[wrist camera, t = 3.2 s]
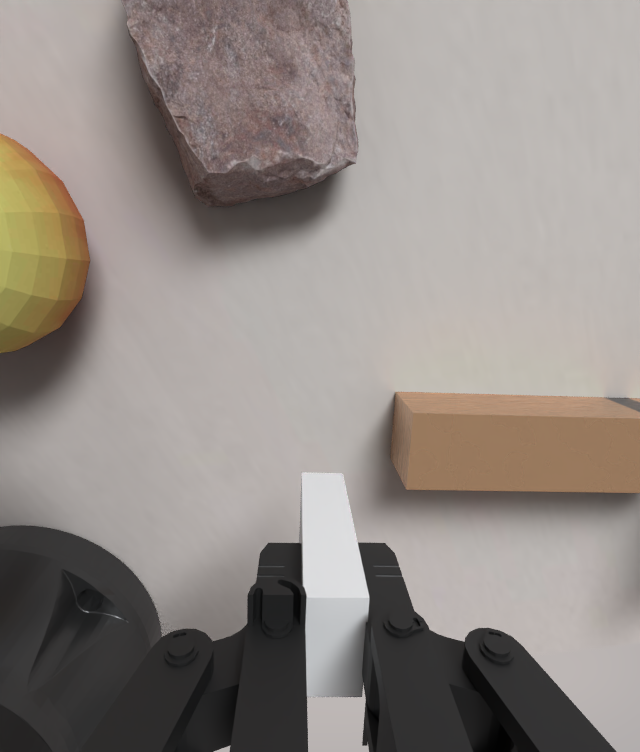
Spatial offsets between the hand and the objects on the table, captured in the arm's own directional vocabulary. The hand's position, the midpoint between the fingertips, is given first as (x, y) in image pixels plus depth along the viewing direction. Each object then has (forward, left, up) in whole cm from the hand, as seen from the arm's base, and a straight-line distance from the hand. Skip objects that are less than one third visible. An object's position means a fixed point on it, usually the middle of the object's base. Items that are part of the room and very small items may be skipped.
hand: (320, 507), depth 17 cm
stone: (-3, +18, -10) cm, 21 cm away
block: (+13, 0, -10) cm, 16 cm away
